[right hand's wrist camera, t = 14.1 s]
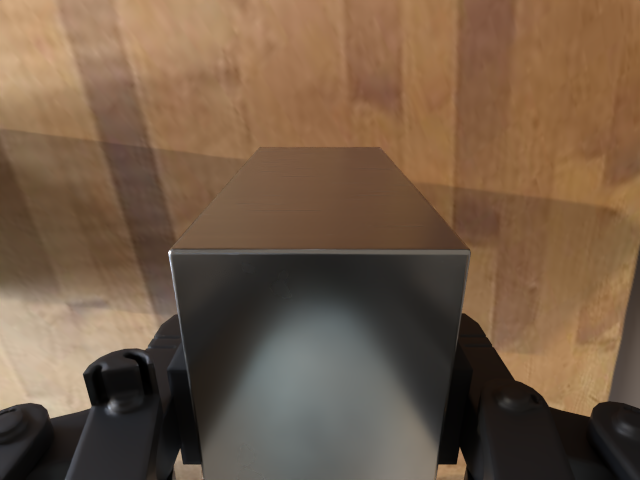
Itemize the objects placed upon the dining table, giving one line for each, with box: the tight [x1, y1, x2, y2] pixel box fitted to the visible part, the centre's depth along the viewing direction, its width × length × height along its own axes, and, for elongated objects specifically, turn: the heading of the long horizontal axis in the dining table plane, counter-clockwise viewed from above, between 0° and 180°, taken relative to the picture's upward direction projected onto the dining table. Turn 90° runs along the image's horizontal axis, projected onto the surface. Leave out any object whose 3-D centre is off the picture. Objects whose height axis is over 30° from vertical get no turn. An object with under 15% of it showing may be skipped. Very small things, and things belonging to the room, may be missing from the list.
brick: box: [169, 147, 471, 480], centre depth 13 cm, size 9×5×10 cm, turn 0°
